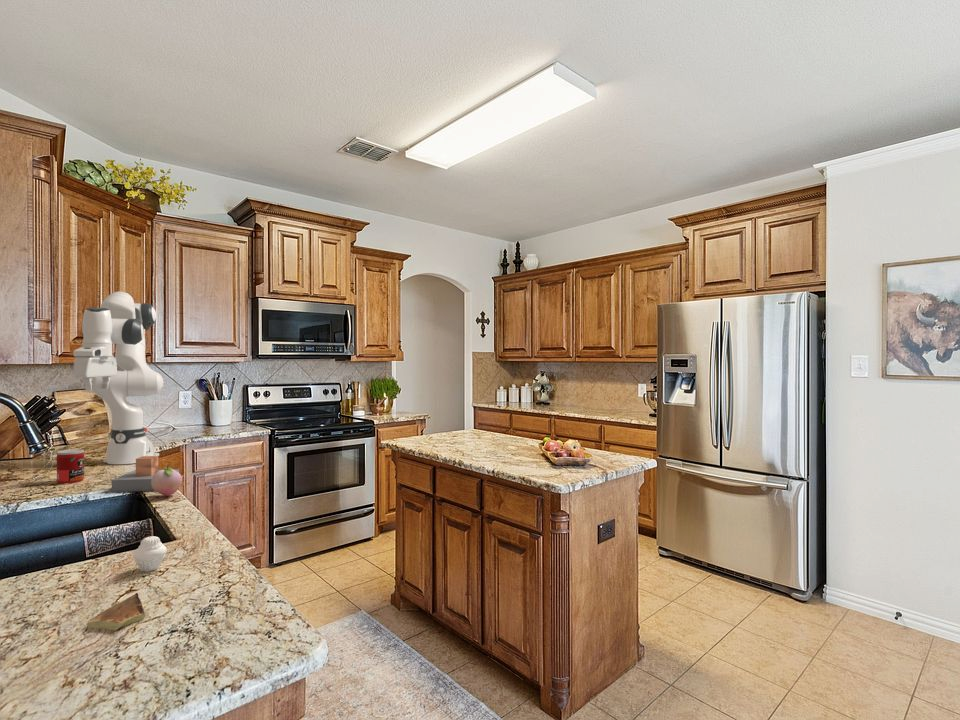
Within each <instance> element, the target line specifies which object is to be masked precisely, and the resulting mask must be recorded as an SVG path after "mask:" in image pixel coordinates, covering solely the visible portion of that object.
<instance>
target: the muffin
mask: <svg viewBox="0 0 960 720" xmlns="http://www.w3.org/2000/svg"><path fill="white" fill-rule="evenodd" d="M167 552H168V548H167V547H166V545H164V544H163V543H162V541H161V539H160V537H158V536H154V535H151V536H147V537H144V538H142V540H140V545H139V546H138V548H136V549H135V550H134V552H133V554H132V557H133V559H134V562H135V564H136V565H137V567H138V568H139V569H140V571H141V572H152V571H155V570H158V569H159V568H160V566H161V564H162V563H163V561H164V559H165V557H166V554H167Z"/></svg>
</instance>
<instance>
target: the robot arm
mask: <svg viewBox="0 0 960 720" xmlns="http://www.w3.org/2000/svg"><path fill="white" fill-rule="evenodd" d="M156 319H157V312H156V309H155V306H154V305H152V304H151V303H146V302H142V303H137V302H136V303H135V300H134V298H133V297H132V296H131V294H129V293H127V292H124V291H121V290H120V291H115V292H112V293H111V294H108V295H107V296H106V297H105V298H104V299H103V301H102V302H101V303H100V307H88V308H86V309H85V310H84V312H83V317H82V325H81V335H82V336H83V337H82V338H83V339H82V343H81V346H80V347H78V348H76V349H75V350H73V356H74V357H75V358H74V360H73V372H74V376H75V377H76V378H78V379H79V378H80V379H82V381H83V384H84V386H85V387H84V388H85V389H84V390H85V391H92V393H94V395H96V396H98V397H99V398H101V399H102V400H103V401H104V402H105V403H106V404H107V405H108V407H109V410H110V413H111V414H110V415H111V429H110V438H111V439H110V440H109V441H108V443H107V449H106V457H105V458H104V459H103V461H102V463H106V464H108V465H129V464H136V459H137V458H139V457H142V456H158V457H159V456H160V453H159V452H154V443H153V442H152V441H151V440H149V438H148V437H147V436H146V433H147V432H148V431H149V428H148V427H144V411H143V409H142V407H140V406H138V405H136V404H134V403H130V402H128V400H127V398H128V397H147V396H153V395H158V394H159V393H160V392H161V391H162V390H163V387H164V383H165V382H164V379H163V376H162V375H161V374H160V373H159V372H158V371H156V370H154V369H152V368H151V367H150V366H149V364H148V363H147V360H146V350H147V349H146V338H145V331H149V330H150V328H151V327H153V325H155V323H156ZM113 344H116V345H115V354H113ZM118 367H119V369H121V370H118Z"/></svg>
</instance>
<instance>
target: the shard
mask: <svg viewBox="0 0 960 720" xmlns="http://www.w3.org/2000/svg"><path fill="white" fill-rule="evenodd" d="M146 617H147V615H146V613H145V609H144V608H143V604H142V601H141V598H140V597H139V593H138V592H136V593H135V594H132V595H131V596H129V597H127V598H126V599H124V600H122V601H120V602H118V603H116V604H114V605H112V606H111V607H108V608H107V609H105V610H104V611H102V612H100V613H98V614H97V615H96V616H93V617H92V618H91V619H89V620H88V621H87V623H86V627H87V629H104V630H109V631H118V630H119V629H120V628H122V627H125V626H128V625H130V624H132V623H136V622H139V621H142V620H145V618H146Z"/></svg>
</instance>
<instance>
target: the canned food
mask: <svg viewBox="0 0 960 720" xmlns="http://www.w3.org/2000/svg"><path fill="white" fill-rule="evenodd" d="M84 478H85V450H84V449H82V448H80V449H79V448H78V449H77V448H76V449H74V448H73V449H62V450H59V451H57V452H56V483H58V484H60V483H68V484H75V483H80V482H83V480H84Z"/></svg>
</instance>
